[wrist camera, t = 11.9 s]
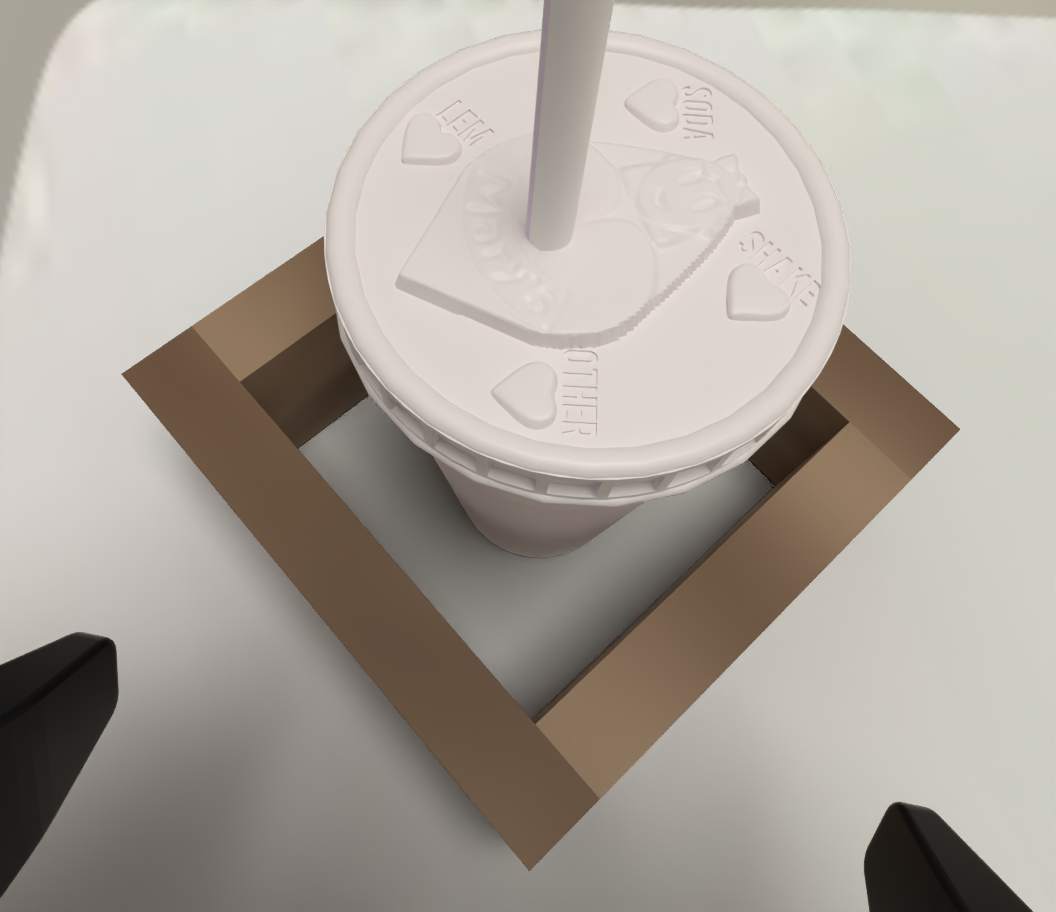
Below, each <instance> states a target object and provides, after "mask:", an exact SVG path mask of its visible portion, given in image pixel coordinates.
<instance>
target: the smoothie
mask: <svg viewBox="0 0 1056 912" xmlns="http://www.w3.org/2000/svg"><path fill="white" fill-rule="evenodd" d="M613 4H614V0H544V7H543V19H542V30H536V31H528V32H522V33H516V34H510V35H504V36H501V37H498V38H494V39H491V40H487V41H484V42H480V43H478V44H475V45H472V46H470V47H467V48H464V49H461V50H459V51H457V52H455V53H453V54H451V55H449V56H446V57H444V58H442V59H440V60H438V61H437V62H435V63H433V64H431V65H430V66H428V67H426V68H425V69H423V70H421V71H420V72H418V73H417V74H415V75H414V76H413V77H411V78H410V79H408V80H407V81H406V82H404V83H403V84H402V85H400V86H399V87H398V88H397V89H396V90H395V91H394V92H392V93H391V94H390V95H389V96H388V97H387V98H386V99H385V100H384V101H383V102H382V103H381V104H380V105H379V106H378V107H377V108H376V109H375V110H374V111H373V112H372V114H371V115H370V116H369V117H368V119H367V120H366V121H365V123H364V124H363V125H362V127H361V128H360V129H359V130H358V132H357V133H356V135H355V137H354V138H353V140H352V142H351V143H350V145H349V147H348V148H347V150H346V152H345V154H344V156H343V159H342V161H341V163H340V165H339V167H338V169H337V172H336V175H335V178H334V181H333V184H332V187H331V190H330V195H329V200H328V205H327V209H326V217H325V228H324V254H325V263H326V270H327V277H328V282H329V286H330V290H331V293H332V297H333V301H334V304H335V309H336V315H337V321H338V326H339V332H340V338H341V341H342V343H343V345H344V347H345V349H346V351H347V353H348V355H349V357H350V359H351V361H352V363H353V365H354V366H355V368H356V370H357V372H358V374H359V376H360V378H361V380H362V382H363V384H364V386H365V388H366V390H367V392H368V394H369V396H370V397H371V398H372V399H373V400H374V401H375V402H376V403H377V405H378V406H379V407H380V408H381V409H382V410H383V411H384V412H385V413H386V414H387V415H388V416H389V417H390V419H391V420H392V421H393V422H394V423H395V424H396V425H397V426H398V427H399V428H400V429H401V430H402V431H403V433H404V434H405V435H406V436H407V437H408V438H409V439H410V440H411V441H412V442H413V443H414V444H415V445H416V446H418V447H419V448H421V449H422V450H424V451H426V452H427V453H429V454H430V455H432V456H433V457H434V459H435V460H436V462H437V464H438V465H439V467H440V469H441V471H442V472H443V474H444V476H445V477H446V479H447V481H448V482H449V484H450V486H451V488H452V489H453V491H454V493H455V494H456V496H457V498H458V499H459V501H460V503H461V505H462V506H463V508H464V510H465V511H466V513H467V515H468V517H469V518H470V520H471V521H472V523H473V524H474V526H475V527H476V528H477V529H478V530H479V531H480V532H481V533H482V534H483V535H484V536H485V537H486V538H487V539H488V540H490V541H491V542H492V543H494V544H495V545H497V546H499V547H500V548H502V549H504V550H506V551H509V552H511V553H514V554H518V555H522V556H527V557H536V558H545V557H554V556H559V555H562V554H566V553H569V552H571V551H574V550H576V549H578V548H580V547H581V546H583V545H584V544H586V543H587V542H589V541H590V540H592V539H593V538H594V537H596V536H597V535H599V534H600V533H601V532H603V531H604V530H606V529H607V528H608V527H610V526H611V525H613V524H614V523H615V522H617V521H618V520H620V519H621V518H622V517H624V516H625V515H626V514H628V513H629V512H631V511H632V510H633V509H635V508H636V507H638V506H639V505H640V504H642V503H643V502H645V501H648V500H653V499H658V498H663V497H667V496H672V495H677V494H682V493H686V492H687V491H689V490H691V489H693V488H695V487H697V486H699V485H701V484H703V483H705V482H707V481H709V480H711V479H713V478H715V477H717V476H719V475H721V474H723V473H725V472H726V471H728V470H730V469H732V468H734V467H736V466H738V465H740V464H742V463H744V462H745V461H746V460H748V459H749V458H750V457H751V456H752V455H753V454H754V453H755V452H756V451H757V450H758V449H759V448H760V447H761V446H762V445H763V444H764V443H765V442H766V441H767V440H769V439H770V438H771V437H772V436H773V435H774V434H775V433H776V432H777V431H778V430H779V429H780V428H781V427H782V426H783V425H784V424H785V423H786V422H787V421H788V420H790V418H791V417H792V415H793V413H794V411H795V410H796V408H797V406H798V404H799V402H800V401H801V399H802V397H803V395H804V394H805V393H806V392H807V391H808V389H809V388H810V386H811V385H812V384H813V382H814V381H815V380H816V378H817V377H818V376H819V374H820V373H821V371H822V369H823V368H824V366H825V364H826V362H827V361H828V359H829V357H830V356H831V354H832V351H833V349H834V347H835V344H836V342H837V340H838V337H839V335H840V332H841V329H842V326H843V322H844V319H845V316H846V312H847V307H848V301H849V295H850V289H851V271H852V264H851V247H850V241H849V235H848V229H847V224H846V220H845V217H844V213H843V209H842V206H841V203H840V200H839V198H838V195H837V193H836V190H835V188H834V185H833V183H832V181H831V179H830V177H829V175H828V173H827V171H826V169H825V167H824V166H823V164H822V162H821V160H820V159H819V157H818V156H817V154H816V153H815V151H814V150H813V148H812V147H811V145H810V144H809V142H808V141H807V140H806V139H805V137H804V136H803V135H802V134H801V132H800V131H799V130H798V129H797V127H796V126H795V125H794V124H793V123H792V122H791V121H790V120H789V119H788V118H787V117H786V116H785V115H784V114H783V112H782V111H781V110H779V109H778V108H777V107H776V106H775V105H774V104H773V103H772V102H770V101H769V100H768V99H767V98H766V97H765V96H764V95H763V94H762V93H760V92H759V91H757V90H756V89H755V88H753V87H752V86H750V85H749V84H748V83H746V82H745V81H743V80H742V79H740V78H739V77H737V76H736V75H734V74H733V73H731V72H730V71H728V70H727V69H726V68H724V67H721V66H719V65H717V64H715V63H713V62H711V61H709V60H707V59H705V58H703V57H701V56H698V55H696V54H694V53H692V52H690V51H688V50H686V49H684V48H680V47H677V46H674V45H671V44H667V43H664V42H661V41H658V40H654V39H651V38H648V37H644V36H641V35H636V34H629V33H622V32H616V31H609V27H610V21H611V15H612V10H613Z"/></svg>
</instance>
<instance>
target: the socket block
mask: <svg viewBox="0 0 1056 912" xmlns="http://www.w3.org/2000/svg"><path fill="white" fill-rule="evenodd" d="M122 375H123V377H124V378H125V379H126V380H127V381H128V383H129V384H130V385H131V386H132V387H133V389H134V390H135V391H136V392H137V394H138V395H139V396H140V397H141V398H142V400H143V401H144V402H145V403H146V405H147V406H148V407H149V408H150V409H151V411H152V412H153V413H154V414H155V416H156V417H157V418H158V419H159V420H160V422H161V423H162V424H163V425H164V426H165V428H166V429H167V430H168V431H169V433H170V434H171V435H172V436H173V437H174V439H175V440H176V441H177V442H178V444H179V445H180V446H181V447H182V448H183V450H184V451H185V452H186V453H187V455H188V456H189V457H190V458H191V459H192V461H193V462H194V463H195V464H196V465H197V467H198V468H199V469H200V470H201V472H202V473H203V474H204V475H205V476H206V478H207V479H208V480H209V481H210V483H211V484H212V485H213V486H214V487H215V489H216V490H217V491H218V492H219V494H220V495H221V496H222V497H223V498H224V500H225V501H226V502H227V503H228V504H229V506H230V507H231V508H232V509H233V511H234V512H235V513H236V514H237V515H238V517H239V518H240V519H241V520H242V522H243V523H244V524H245V525H246V526H247V528H248V529H249V530H250V531H251V533H252V534H253V535H254V536H255V537H256V539H257V540H258V541H259V542H260V543H261V545H262V546H263V547H264V548H265V550H266V551H267V552H268V553H269V554H270V556H271V557H272V558H273V559H274V561H275V562H276V563H277V564H278V565H279V567H280V568H281V569H282V570H283V572H284V573H285V574H286V575H287V576H288V578H289V579H290V580H291V581H292V582H293V584H294V585H295V586H296V587H297V589H298V590H299V591H300V592H301V593H302V595H303V596H304V597H305V598H306V600H307V601H308V602H309V603H310V604H311V606H312V607H313V608H314V609H315V611H316V612H317V613H318V614H319V615H320V617H321V618H322V619H323V620H324V621H325V623H326V624H327V625H328V626H329V628H330V629H331V630H332V631H333V632H334V634H335V635H336V636H337V637H338V639H339V640H340V641H341V642H342V643H343V645H344V646H345V647H346V648H347V649H348V651H349V652H350V653H351V654H352V656H353V657H354V658H355V659H356V660H357V662H358V663H359V664H360V665H361V667H362V668H363V669H364V670H365V671H366V673H367V674H368V675H369V676H370V678H371V679H372V680H373V681H374V682H375V684H376V685H377V686H378V687H379V688H380V690H381V691H382V692H383V693H384V695H385V696H386V697H387V698H388V699H389V701H390V702H391V703H392V704H393V706H394V707H395V708H396V709H397V710H398V712H399V713H400V714H401V715H402V717H403V718H404V719H405V720H406V721H407V723H408V724H409V725H410V726H411V727H412V729H413V730H414V731H415V732H416V734H417V735H418V736H419V737H420V738H421V740H422V741H423V742H424V743H425V745H426V746H427V747H428V748H429V749H430V751H431V752H432V753H433V754H434V756H435V757H436V758H437V759H438V760H439V762H440V763H441V764H442V765H443V766H444V768H445V769H446V770H447V771H448V773H449V774H450V775H451V776H452V777H453V779H454V780H455V781H456V782H457V784H458V785H459V786H460V787H461V788H462V790H463V791H464V792H465V793H466V795H467V796H468V797H469V798H470V799H471V801H472V802H473V803H474V804H475V805H476V807H477V808H478V809H479V810H480V812H481V813H482V814H483V815H484V816H485V818H486V819H487V820H488V821H489V823H490V824H491V825H492V826H493V827H494V829H495V830H496V831H497V832H498V834H499V835H500V836H501V837H502V838H503V840H504V841H505V842H506V843H507V844H508V846H509V847H510V848H511V849H512V851H513V852H514V853H515V854H516V855H517V857H518V858H519V859H520V860H521V862H522V863H523V864H524V865H525V866H526V868H527V869H528V870H529V871H530V870H531V869H532V868H533V867H534V866H535V865H536V864H537V863H538V862H539V861H540V860H541V859H542V858H543V857H544V856H545V855H546V854H547V853H548V851H549V850H550V849H551V848H552V847H553V846H554V845H555V844H556V843H557V842H558V841H559V840H560V839H561V838H562V837H563V836H564V835H565V834H566V833H567V832H568V831H569V830H570V829H571V828H572V827H573V826H574V825H575V824H576V823H577V822H578V821H579V820H580V819H581V818H582V817H583V816H584V815H585V814H586V813H587V812H588V810H589V809H590V808H591V807H592V806H593V805H594V804H595V803H596V802H597V801H598V800H599V799H600V798H601V797H602V796H603V795H604V794H605V793H606V792H607V791H608V790H609V789H610V788H611V787H612V786H613V785H614V784H615V783H616V782H617V781H618V780H619V779H620V778H621V777H622V776H623V775H624V774H625V773H626V772H627V771H628V769H629V768H630V767H631V766H632V765H633V764H634V763H635V762H636V761H637V760H638V759H639V758H640V757H641V756H642V755H643V754H644V753H645V752H646V751H647V750H648V749H649V748H650V747H651V746H652V745H653V744H654V743H655V742H656V741H657V740H658V739H659V738H660V737H661V736H662V735H663V734H664V733H665V732H666V731H667V729H668V728H669V727H670V726H671V725H672V724H673V723H674V722H675V721H676V720H677V719H678V718H679V717H680V716H681V715H682V714H683V713H684V712H685V711H686V710H687V709H688V708H689V707H690V706H691V705H692V704H693V703H694V702H695V701H696V700H697V699H698V698H699V697H700V696H701V695H702V694H703V693H704V692H705V691H706V690H707V688H708V687H709V686H710V685H711V684H712V683H713V682H714V681H715V680H716V679H717V678H718V677H719V676H720V675H721V674H722V673H723V672H724V671H725V670H726V669H727V668H728V667H729V666H730V665H731V664H732V663H733V662H734V661H735V660H736V659H737V658H738V657H739V656H740V655H741V654H742V653H743V652H744V651H745V650H746V649H747V647H748V646H749V645H750V644H751V643H752V642H753V641H754V640H755V639H756V638H757V637H758V636H759V635H760V634H761V633H762V632H763V631H764V630H765V629H766V628H767V627H768V626H769V625H770V624H771V623H772V622H773V621H774V620H775V619H776V618H777V617H778V616H779V615H780V614H781V613H782V612H783V611H784V610H785V609H786V608H787V606H788V605H789V604H790V603H791V602H792V601H793V600H794V599H795V598H796V597H797V596H798V595H799V594H800V593H801V592H802V591H803V590H804V589H805V588H806V587H807V586H808V585H809V584H810V583H811V582H812V581H813V580H814V579H815V578H816V577H817V576H818V575H819V574H820V573H821V572H822V571H823V570H824V569H825V568H826V567H827V565H828V564H829V563H830V562H831V561H832V560H833V559H834V558H835V557H836V556H837V555H838V554H839V553H840V552H841V551H842V550H843V549H844V548H845V547H846V546H847V545H848V544H849V543H850V542H851V541H852V540H853V539H854V538H855V537H856V536H857V535H858V534H859V533H860V532H861V531H862V530H863V529H864V528H865V527H866V526H867V524H868V523H869V522H870V521H871V520H872V519H873V518H874V517H875V516H876V515H877V514H878V513H879V512H880V511H881V510H882V509H883V508H884V507H885V506H886V505H887V504H888V503H889V502H890V501H891V500H892V499H893V498H894V497H895V496H896V495H897V494H898V493H899V492H900V491H901V490H902V489H903V488H904V487H905V486H906V485H907V483H908V482H909V481H910V480H911V479H912V478H913V477H914V476H915V475H916V474H917V473H918V472H919V471H920V470H921V469H922V468H923V467H924V466H925V465H926V464H927V463H928V462H929V461H930V460H931V459H932V458H933V457H934V456H935V455H936V454H937V453H938V452H939V451H940V450H941V449H942V448H943V447H944V446H945V445H946V444H947V442H948V441H949V440H950V439H951V438H952V437H953V436H954V435H955V434H956V433H957V432H958V431H959V430H960V428H958V427H957V426H956V425H955V424H954V423H953V422H952V421H951V420H949V419H948V418H947V417H946V416H945V415H944V414H943V413H942V412H941V411H939V410H938V409H937V408H936V407H935V406H934V405H933V404H932V403H930V402H929V401H928V400H927V399H926V398H925V397H924V396H923V395H922V394H920V393H919V392H918V391H917V390H916V389H915V388H914V387H913V386H911V385H910V384H909V383H908V382H907V381H906V380H905V379H904V378H903V377H901V376H900V375H899V374H898V373H897V372H896V371H895V370H894V369H892V368H891V367H890V366H889V365H888V364H887V363H886V362H885V361H884V360H882V359H881V358H880V357H879V356H878V355H877V354H876V353H875V352H873V351H872V350H871V349H870V348H869V347H868V346H867V345H866V344H865V343H863V342H862V341H861V340H860V339H859V338H858V337H857V336H856V335H854V334H853V333H852V332H851V331H850V330H849V329H848V328H847V327H846V326H844V325H843V326H842V329H841V332H840V335H839V337H838V340H837V342H836V344H835V347H834V349H833V351H832V354H831V356H830V357H829V359H828V361H827V362H826V364H825V366H824V368H823V369H822V371H821V373H820V374H819V376H818V377H817V378H816V380H815V381H814V382H813V384H812V385H811V386H810V388H809V389H808V391H807V392H806V393H805V394H804V395H803V397H802V399H801V401H800V402H799V404H798V406H797V408H796V410H795V411H794V413H793V415H792V417H791V418H790V420H788V421H787V422H786V423H785V424H784V425H783V426H782V427H781V428H780V429H779V430H778V431H777V432H776V433H775V434H774V435H773V436H772V437H771V438H770V439H769V440H767V441H766V442H765V443H764V444H763V445H762V446H761V447H760V448H759V449H758V450H757V451H756V452H755V453H754V454H753V455H752V456H751V457H750V458H749V460H750V461H751V462H752V463H753V464H754V465H755V466H756V467H757V468H758V469H759V470H760V471H761V472H762V473H763V474H764V475H765V476H766V477H767V478H769V479H770V480H771V481H772V482H773V483H774V484H775V485H776V486H775V487H774V488H773V489H772V490H771V491H770V492H769V493H768V494H767V495H766V496H764V497H763V498H762V499H761V500H760V501H759V502H758V503H757V504H756V505H755V506H754V507H753V508H752V509H751V510H750V511H749V512H748V513H747V514H746V515H745V516H744V517H743V518H742V519H741V520H739V521H738V522H737V523H736V524H735V525H734V526H733V527H732V528H731V529H730V530H729V531H728V532H727V533H726V534H725V535H724V536H723V537H722V538H721V539H720V540H719V541H718V542H717V543H715V544H714V545H713V546H712V547H711V548H710V549H709V550H708V551H707V552H706V553H705V554H704V555H703V556H702V557H701V558H700V559H699V560H698V561H697V562H696V563H695V564H694V565H693V566H691V567H690V568H689V569H688V570H687V571H686V572H685V573H684V574H683V575H682V576H681V577H680V578H679V579H678V580H677V581H676V582H675V583H674V584H673V585H672V586H671V587H670V588H669V589H668V590H666V591H665V592H664V593H663V594H662V595H661V596H660V597H659V598H658V599H657V600H656V601H655V602H654V603H653V604H652V605H651V606H650V607H649V608H648V609H647V610H646V611H645V612H644V613H642V614H641V615H640V616H639V617H638V618H637V619H636V620H635V621H634V622H633V623H632V624H631V625H630V626H629V627H628V628H627V629H626V630H625V631H624V632H623V633H622V634H621V635H620V636H618V637H617V638H616V639H615V640H614V641H613V642H612V643H611V644H610V645H609V646H608V647H607V648H606V649H605V650H604V651H603V652H602V653H601V654H600V655H599V656H598V657H597V658H596V659H594V660H593V661H592V662H591V663H590V664H589V665H588V666H587V667H586V668H585V669H584V670H583V671H582V672H581V673H580V674H579V675H578V676H577V677H576V678H575V679H574V680H573V681H572V682H571V683H569V684H568V685H567V686H566V687H565V688H564V689H563V690H562V691H561V692H560V693H559V694H558V695H557V696H556V697H555V698H554V699H553V700H552V701H551V702H550V703H549V704H548V705H547V706H545V707H544V708H543V709H542V710H541V711H540V712H539V713H538V714H537V715H536V716H535V717H534V718H533V719H532V720H531V719H530V718H529V716H528V715H527V714H526V713H525V712H524V711H523V709H522V708H521V707H520V706H519V705H518V704H517V702H516V701H515V700H514V699H513V698H512V697H511V696H510V694H509V693H508V692H507V691H506V690H505V689H504V687H503V686H502V685H501V684H500V683H499V682H498V680H497V679H496V678H495V677H494V676H493V675H492V674H491V672H490V671H489V670H488V669H487V668H486V667H485V665H484V664H483V663H482V662H481V661H480V660H479V658H478V657H477V656H476V655H475V654H474V653H473V651H472V650H471V649H470V648H469V647H468V646H467V645H466V643H465V642H464V641H463V640H462V639H461V638H460V636H459V635H458V634H457V633H456V632H455V631H454V629H453V628H452V627H451V626H450V625H449V624H448V623H447V621H446V620H445V619H444V618H443V617H442V616H441V614H440V613H439V612H438V611H437V610H436V609H435V607H434V606H433V605H432V604H431V603H430V602H429V601H428V599H427V598H426V597H425V596H424V595H423V594H422V592H421V591H420V590H419V589H418V588H417V587H416V585H415V584H414V583H413V582H412V581H411V580H410V579H409V577H408V576H407V575H406V574H405V573H404V572H403V570H402V569H401V568H400V567H399V566H398V565H397V563H396V562H395V561H394V560H393V559H392V558H391V557H390V555H389V554H388V553H387V552H386V551H385V550H384V548H383V547H382V546H381V545H380V544H379V543H378V541H377V540H376V539H375V538H374V537H373V536H372V534H371V533H370V532H369V531H368V530H367V529H366V528H365V526H364V525H363V524H362V523H361V522H360V521H359V519H358V518H357V517H356V516H355V515H354V514H353V512H352V511H351V510H350V509H349V508H348V507H347V506H346V504H345V503H344V502H343V501H342V500H341V499H340V497H339V496H338V495H337V494H336V493H335V492H334V490H333V489H332V488H331V487H330V486H329V485H328V484H327V482H326V481H325V480H324V479H323V478H322V477H321V475H320V474H319V473H318V472H317V471H316V470H315V468H314V467H313V466H312V465H311V464H310V463H309V462H308V460H307V459H306V458H305V457H304V456H303V455H302V453H301V452H300V451H299V450H298V448H299V447H300V446H302V445H303V444H304V443H306V442H307V441H308V440H310V439H311V438H312V437H313V436H315V435H316V434H317V433H319V432H320V431H321V430H323V429H324V428H325V427H327V426H328V425H329V424H331V423H332V422H333V421H335V420H336V419H337V418H338V417H340V416H341V415H342V414H344V413H345V412H346V411H348V410H349V409H350V408H352V407H353V406H354V405H356V404H357V403H358V402H360V401H361V400H362V399H364V398H365V397H366V396H367V395H369V394H368V392H367V390H366V388H365V386H364V384H363V382H362V380H361V378H360V376H359V374H358V372H357V370H356V368H355V366H354V365H353V363H352V361H351V359H350V357H349V355H348V353H347V351H346V349H345V347H344V345H343V343H342V341H341V338H340V332H339V326H338V321H337V315H336V309H335V304H334V301H333V297H332V293H331V290H330V286H329V282H328V277H327V270H326V263H325V254H324V236H323V237H322V238H320V239H319V240H318V241H316V242H315V243H313V244H312V245H310V246H309V247H307V248H306V249H304V250H303V251H301V252H300V253H298V254H297V255H295V256H294V257H293V258H291V259H290V260H288V261H287V262H285V263H284V264H282V265H281V266H279V267H278V268H276V269H275V270H273V271H272V272H271V273H269V274H268V275H266V276H265V277H263V278H262V279H260V280H259V281H257V282H256V283H254V284H253V285H251V286H250V287H249V288H247V289H246V290H244V291H243V292H241V293H240V294H238V295H237V296H235V297H234V298H232V299H231V300H229V301H228V302H226V303H225V304H224V305H222V306H221V307H219V308H218V309H216V310H215V311H213V312H212V313H210V314H209V315H207V316H206V317H204V318H203V319H202V320H200V321H199V322H197V323H196V324H194V325H193V326H191V327H190V328H188V329H187V330H185V331H184V332H182V333H181V334H179V335H178V336H177V337H175V338H174V339H172V340H171V341H169V342H168V343H166V344H165V345H163V346H162V347H160V348H159V349H157V350H156V351H155V352H153V353H152V354H150V355H149V356H147V357H146V358H144V359H143V360H141V361H140V362H138V363H137V364H135V365H134V366H133V367H131V368H130V369H128V370H127V371H125V372H124V373H122Z"/></svg>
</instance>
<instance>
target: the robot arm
mask: <svg viewBox="0 0 1056 912" xmlns="http://www.w3.org/2000/svg"><path fill="white" fill-rule="evenodd" d="M118 693H119V689H118V671H117V652H116V645H115V644H114V642H113V640H111V639H109V638H107V637H103V636H98V635H93V634H88V633H84V632H77V633H73V634H70V635H67V636H65V637H63V638H60V639H58V640H56V641H54V642H51V643H49V644H47V645H45V646H42V647H40V648H38V649H36V650H33V651H31V652H29V653H26V654H24V655H22V656H20V657H17V658H15V659H13V660H11V661H8V662H6V663H4V664H2V665H0V898H1V897H2V895H3V894H4V892H5V891H6V890H7V888H8V887H9V885H10V884H11V882H12V881H13V880H14V878H15V877H16V875H17V874H18V873H19V871H20V870H21V868H22V867H23V865H24V864H25V863H26V861H27V860H28V858H29V857H30V855H31V854H32V852H33V851H34V849H35V848H36V846H37V845H38V843H39V842H40V840H41V839H42V837H43V836H44V834H45V832H46V831H47V829H48V827H49V826H50V824H51V822H52V821H53V819H54V817H55V816H56V814H57V812H58V810H59V809H60V807H61V805H62V803H63V802H64V800H65V798H66V796H67V794H68V793H69V791H70V789H71V787H72V786H73V784H74V782H75V780H76V779H77V777H78V775H79V773H80V771H81V770H82V768H83V766H84V764H85V763H86V761H87V759H88V757H89V756H90V754H91V752H92V750H93V748H94V747H95V745H96V743H97V741H98V740H99V738H100V736H101V734H102V732H103V731H104V729H105V727H106V725H107V724H108V722H109V720H110V718H111V717H112V715H113V713H114V710H115V708H116V704H117V701H118ZM864 875H865V882H866V889H867V897H868V904H869V911H870V912H1033V911H1032V910H1031V909H1030V908H1029V907H1028V906H1027V905H1026V904H1025V903H1024V902H1023V901H1022V900H1021V899H1020V898H1019V897H1018V896H1017V895H1016V894H1015V893H1014V892H1013V891H1012V890H1011V889H1010V888H1009V887H1008V886H1007V884H1006V883H1005V882H1004V881H1003V880H1002V879H1001V878H1000V877H999V876H998V875H997V874H996V873H995V872H994V871H993V870H992V869H991V868H990V867H989V866H988V865H987V864H986V863H985V862H984V861H983V860H982V859H981V858H980V857H979V856H978V855H977V854H976V853H975V852H974V851H973V850H972V849H971V848H970V847H969V846H968V845H967V844H966V843H965V842H964V841H963V840H962V839H961V838H960V837H959V836H958V835H957V833H956V832H955V831H954V830H953V829H952V828H951V827H950V826H949V825H948V824H947V823H946V822H945V821H944V820H943V819H942V818H941V817H940V816H939V815H938V814H937V813H935V812H934V811H933V810H931V809H929V808H926V807H922V806H917V805H913V804H908V803H903V802H895V803H893V804H892V805H890V806H889V807H888V809H887V810H886V812H885V814H884V816H883V818H882V820H881V822H880V824H879V826H878V828H877V830H876V832H875V834H874V836H873V838H872V840H871V842H870V844H869V846H868V848H867V850H866V854H865V859H864Z"/></svg>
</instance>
